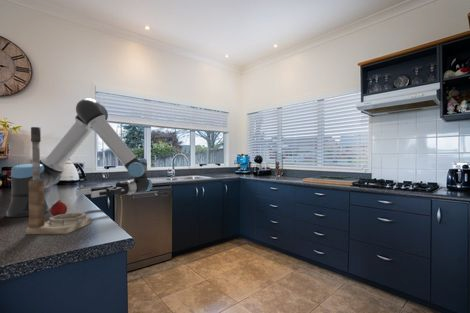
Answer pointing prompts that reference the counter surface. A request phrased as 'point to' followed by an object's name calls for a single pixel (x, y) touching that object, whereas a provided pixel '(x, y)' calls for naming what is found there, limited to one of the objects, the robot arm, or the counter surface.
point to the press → (36, 201)
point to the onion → (58, 208)
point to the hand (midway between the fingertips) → (83, 193)
